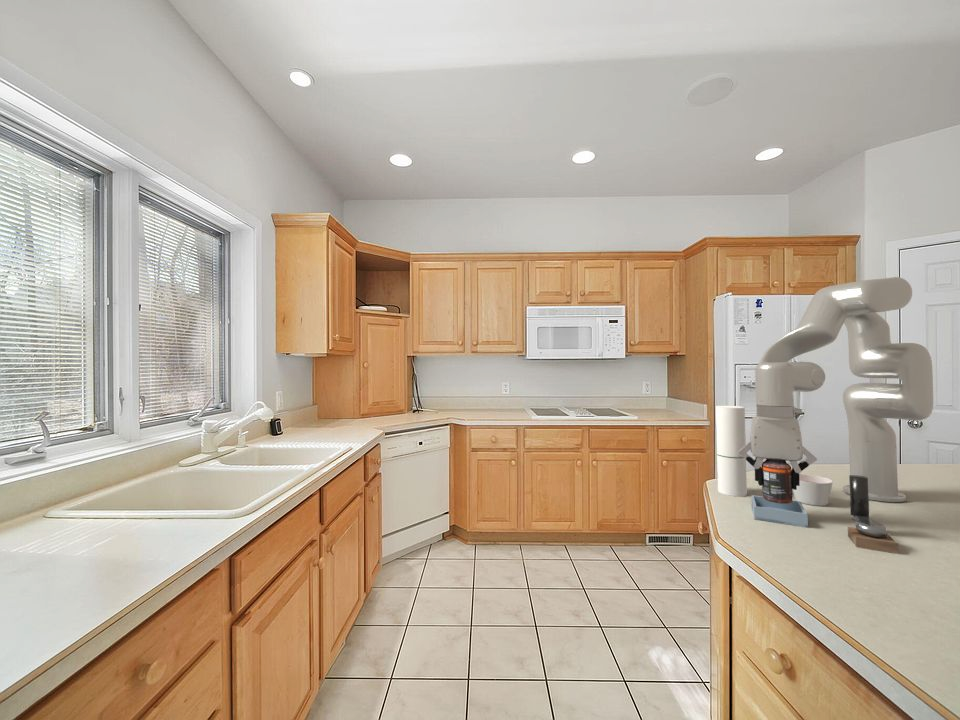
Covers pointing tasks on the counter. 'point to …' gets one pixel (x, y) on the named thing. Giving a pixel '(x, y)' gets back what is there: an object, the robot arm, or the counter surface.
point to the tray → (779, 512)
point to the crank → (863, 507)
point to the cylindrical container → (731, 450)
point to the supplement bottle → (777, 481)
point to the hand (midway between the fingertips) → (776, 485)
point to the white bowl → (813, 490)
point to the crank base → (872, 541)
